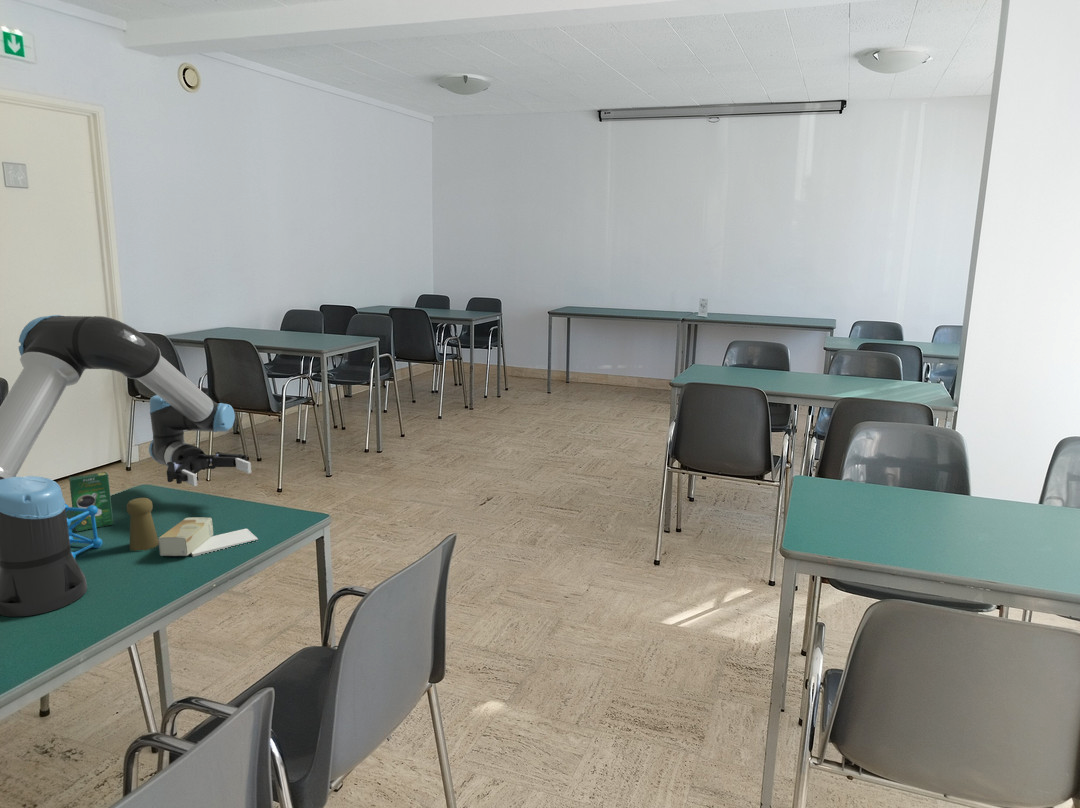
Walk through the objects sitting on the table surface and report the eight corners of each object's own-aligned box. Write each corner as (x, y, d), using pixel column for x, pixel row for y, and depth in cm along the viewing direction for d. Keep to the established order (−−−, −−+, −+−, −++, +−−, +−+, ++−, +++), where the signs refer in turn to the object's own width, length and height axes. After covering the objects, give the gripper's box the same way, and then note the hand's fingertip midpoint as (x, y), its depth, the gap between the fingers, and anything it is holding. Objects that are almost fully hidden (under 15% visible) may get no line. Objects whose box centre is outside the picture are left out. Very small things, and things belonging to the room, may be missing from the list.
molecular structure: (70, 564, 161) (63, 520, 159) (30, 560, 163) (23, 517, 161) (105, 546, 171) (99, 504, 169) (67, 542, 173) (61, 501, 171)
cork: (123, 549, 169) (116, 502, 167) (144, 539, 175) (138, 493, 172) (144, 552, 167) (138, 505, 165) (165, 542, 173) (160, 496, 170)
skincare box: (212, 517, 174) (186, 537, 162) (214, 534, 175) (188, 556, 163) (184, 517, 175) (157, 537, 163) (186, 534, 175) (159, 556, 164)
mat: (193, 556, 165) (192, 554, 164) (183, 545, 171) (183, 542, 171) (258, 541, 173) (257, 538, 173) (247, 530, 179) (246, 528, 179)
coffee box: (112, 521, 186) (105, 470, 183) (115, 524, 183) (108, 473, 181) (74, 529, 181) (67, 476, 178) (76, 532, 179) (69, 479, 176)
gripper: (232, 462, 209) (271, 477, 195) (137, 482, 191) (172, 501, 177) (230, 435, 207) (269, 449, 193) (133, 454, 189) (169, 470, 175)
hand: (223, 474), depth 185 cm, fingers open, 13 cm apart
